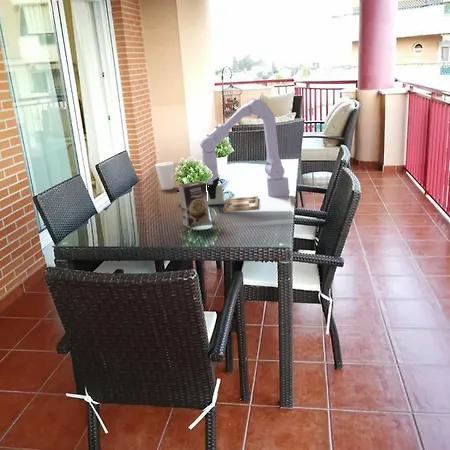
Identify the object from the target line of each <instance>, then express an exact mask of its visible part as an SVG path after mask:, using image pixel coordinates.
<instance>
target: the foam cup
mask: <svg viewBox="0 0 450 450" xmlns="http://www.w3.org/2000/svg"><path fill="white" fill-rule="evenodd" d="M154 168H155V170H156V173H157V177H158V180H159V184H160V188H161V190H163V191H167V190H172V189H174V187H175V181H174V180H175V173H174V172H175V170H174V169H175V164H174V162H173V161H165V162H159V163H156V164H155V167H154Z"/></svg>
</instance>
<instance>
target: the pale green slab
mask: <svg viewBox="0 0 450 450" xmlns="http://www.w3.org/2000/svg"><path fill="white" fill-rule="evenodd" d="M222 204H223V205H224V204H225V199H224V191H223V185H218V186H217V187H216V198H215V199H210V197H209V194H208V206H209V205H222Z"/></svg>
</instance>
